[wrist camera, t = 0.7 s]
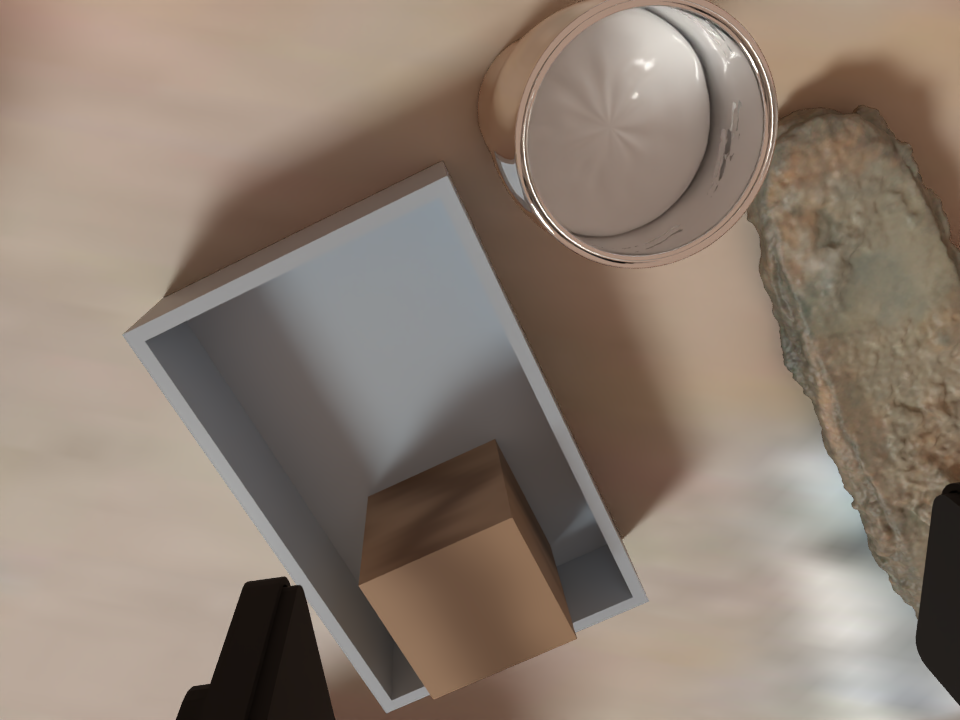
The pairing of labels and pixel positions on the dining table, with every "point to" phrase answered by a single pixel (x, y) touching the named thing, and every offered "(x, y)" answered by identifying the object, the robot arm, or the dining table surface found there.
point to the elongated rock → (867, 319)
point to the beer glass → (632, 127)
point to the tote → (374, 402)
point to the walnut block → (462, 571)
